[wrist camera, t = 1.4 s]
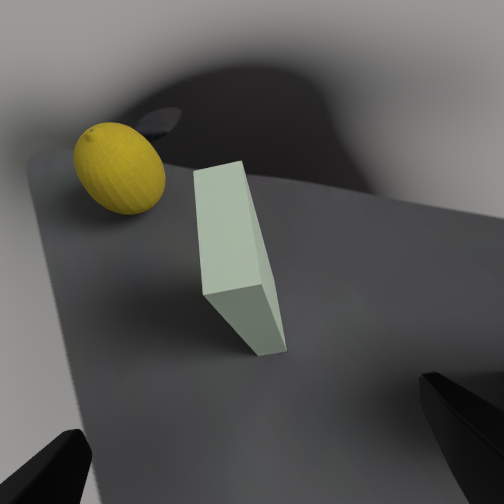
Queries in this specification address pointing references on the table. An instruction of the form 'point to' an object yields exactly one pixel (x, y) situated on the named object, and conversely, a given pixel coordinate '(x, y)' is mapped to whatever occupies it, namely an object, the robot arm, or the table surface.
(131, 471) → the table surface
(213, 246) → the head tile
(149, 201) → the lemon
